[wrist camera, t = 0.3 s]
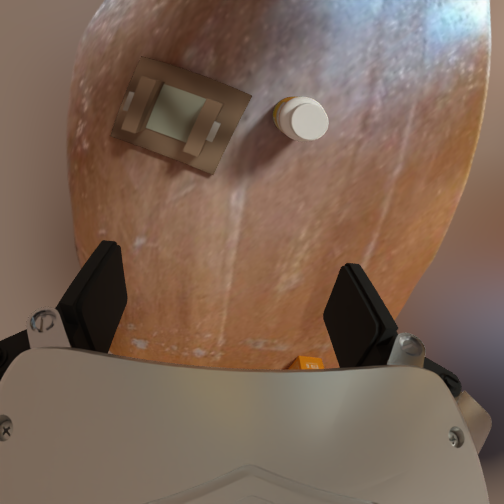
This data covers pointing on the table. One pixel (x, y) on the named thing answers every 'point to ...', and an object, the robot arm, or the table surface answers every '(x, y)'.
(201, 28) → the table surface
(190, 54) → the table surface
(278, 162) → the table surface
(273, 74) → the table surface
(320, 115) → the supplement bottle
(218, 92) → the holder
